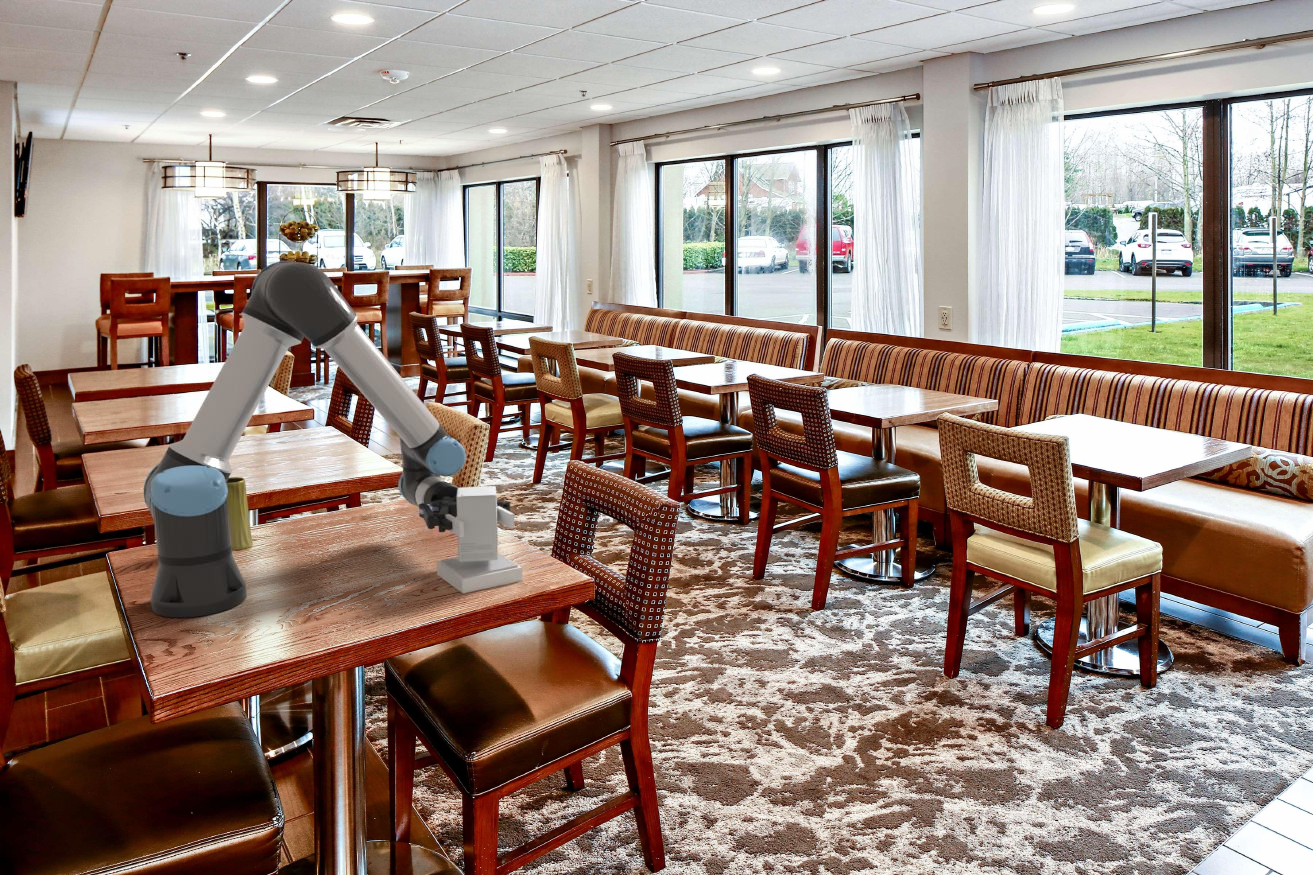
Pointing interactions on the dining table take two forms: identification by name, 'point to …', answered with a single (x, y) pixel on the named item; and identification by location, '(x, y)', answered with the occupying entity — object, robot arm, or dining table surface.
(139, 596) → the dining table surface
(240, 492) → the vase
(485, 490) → the supplement box
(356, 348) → the robot arm
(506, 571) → the pedestal
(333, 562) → the dining table surface
